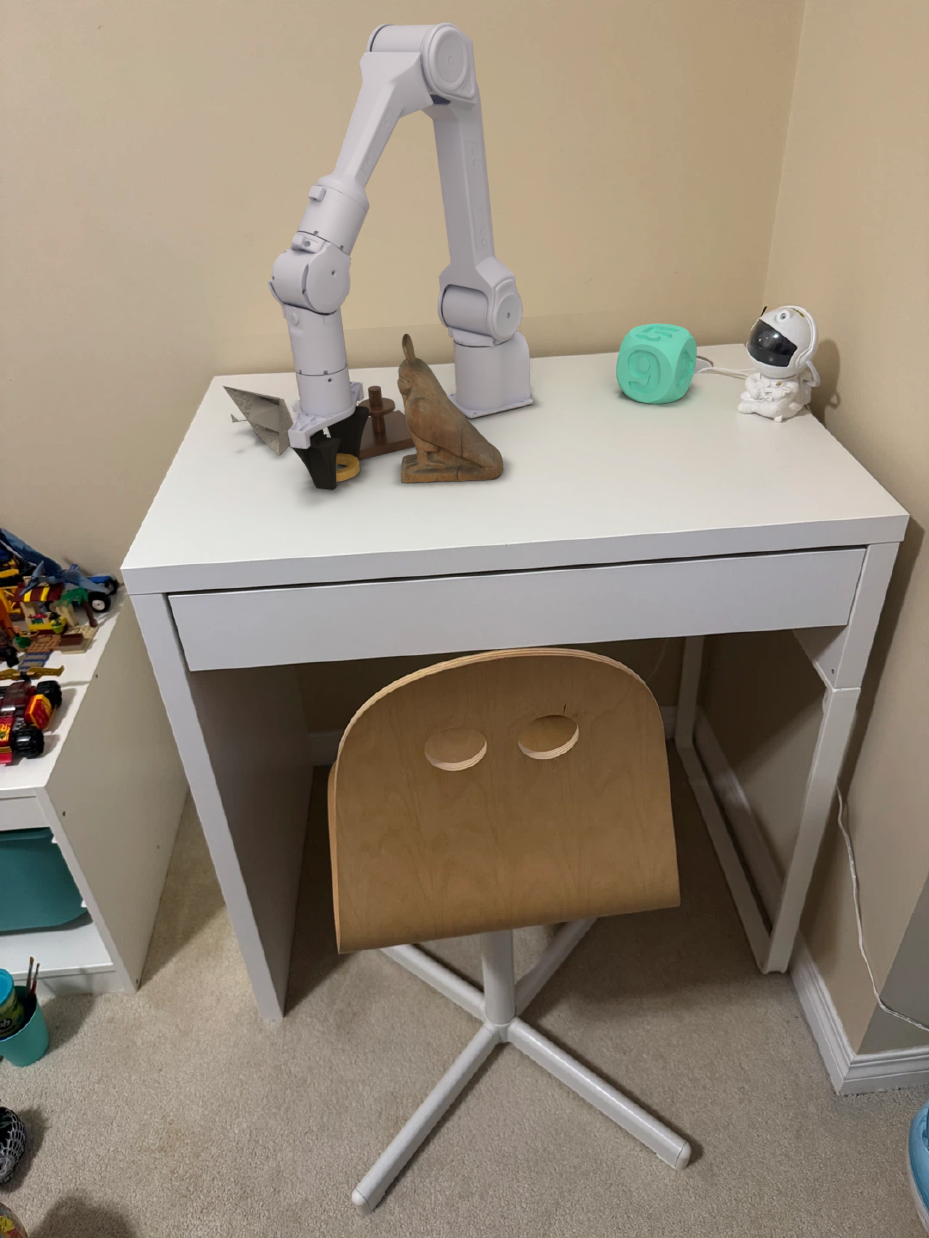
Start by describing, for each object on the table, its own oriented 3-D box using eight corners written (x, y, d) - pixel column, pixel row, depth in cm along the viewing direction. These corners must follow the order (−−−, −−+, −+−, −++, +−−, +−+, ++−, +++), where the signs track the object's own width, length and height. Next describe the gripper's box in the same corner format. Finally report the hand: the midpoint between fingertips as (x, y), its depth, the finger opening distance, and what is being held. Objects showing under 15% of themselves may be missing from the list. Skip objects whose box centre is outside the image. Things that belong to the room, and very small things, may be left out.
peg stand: (399, 418, 118) (395, 369, 114) (427, 443, 111) (422, 392, 107) (334, 433, 115) (327, 384, 111) (358, 460, 108) (351, 408, 104)
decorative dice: (694, 387, 121) (700, 327, 116) (671, 408, 116) (676, 347, 111) (638, 378, 125) (642, 320, 120) (614, 398, 119) (617, 338, 115)
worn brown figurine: (405, 502, 104) (353, 355, 94) (410, 479, 108) (361, 336, 98) (504, 481, 102) (462, 328, 91) (505, 459, 106) (466, 310, 96)
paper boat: (326, 429, 113) (273, 437, 106) (304, 465, 117) (251, 476, 110) (268, 363, 115) (213, 367, 108) (248, 400, 119) (194, 407, 112)
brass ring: (351, 457, 108) (350, 449, 107) (367, 475, 103) (366, 467, 103) (306, 467, 106) (305, 459, 105) (320, 486, 102) (319, 478, 101)
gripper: (319, 342, 104) (334, 450, 112) (254, 388, 93) (277, 504, 101) (374, 346, 102) (386, 456, 110) (315, 394, 91) (333, 512, 99)
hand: (337, 480), depth 105 cm, fingers closed on brass ring, 5 cm apart
